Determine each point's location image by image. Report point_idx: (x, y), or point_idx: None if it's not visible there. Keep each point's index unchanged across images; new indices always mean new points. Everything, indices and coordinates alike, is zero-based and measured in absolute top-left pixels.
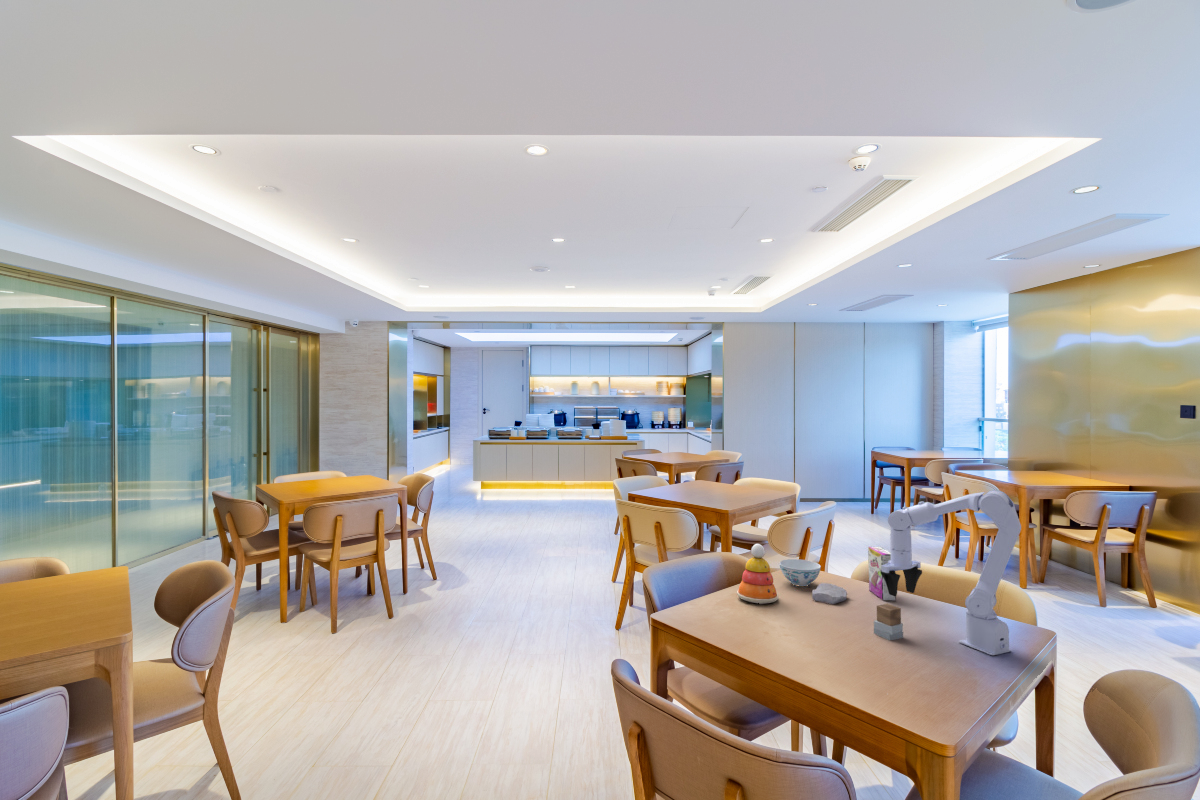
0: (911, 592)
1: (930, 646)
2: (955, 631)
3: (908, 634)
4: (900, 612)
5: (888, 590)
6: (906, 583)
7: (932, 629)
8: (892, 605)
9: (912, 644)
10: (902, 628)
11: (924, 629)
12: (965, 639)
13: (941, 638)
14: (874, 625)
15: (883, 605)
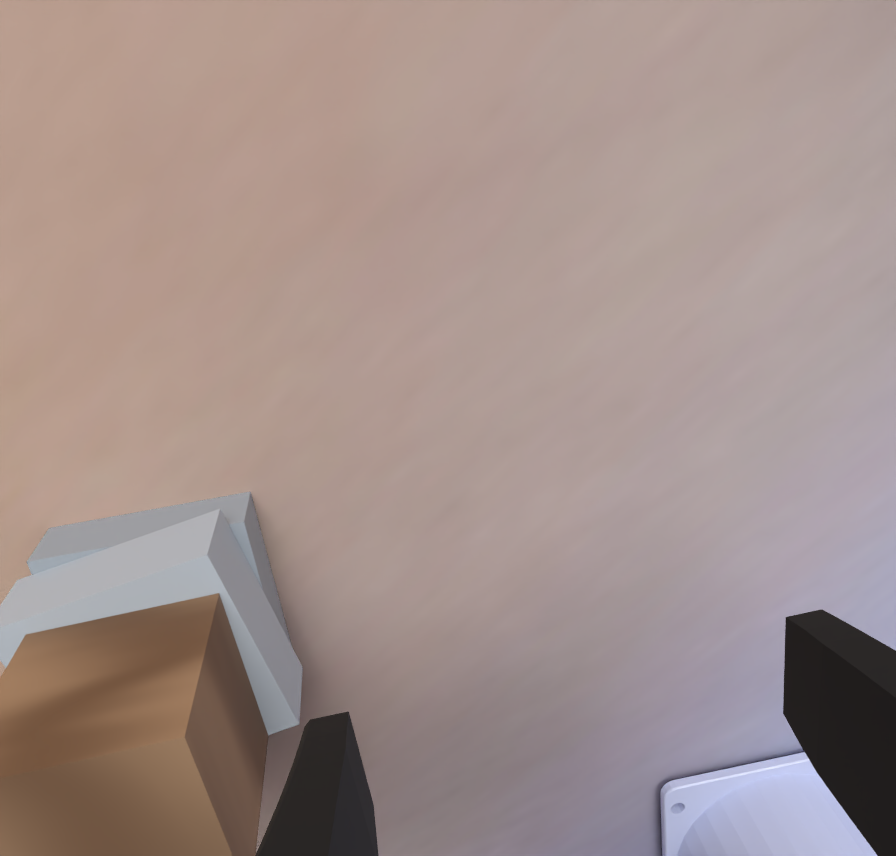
0: (784, 700)
1: (388, 806)
2: (864, 597)
3: (399, 596)
4: (250, 850)
5: (293, 775)
6: (889, 712)
7: (721, 532)
8: (212, 803)
9: (267, 766)
10: (298, 686)
11: (650, 521)
12: (741, 776)
13: (612, 697)
14: (5, 607)
15: (61, 794)
